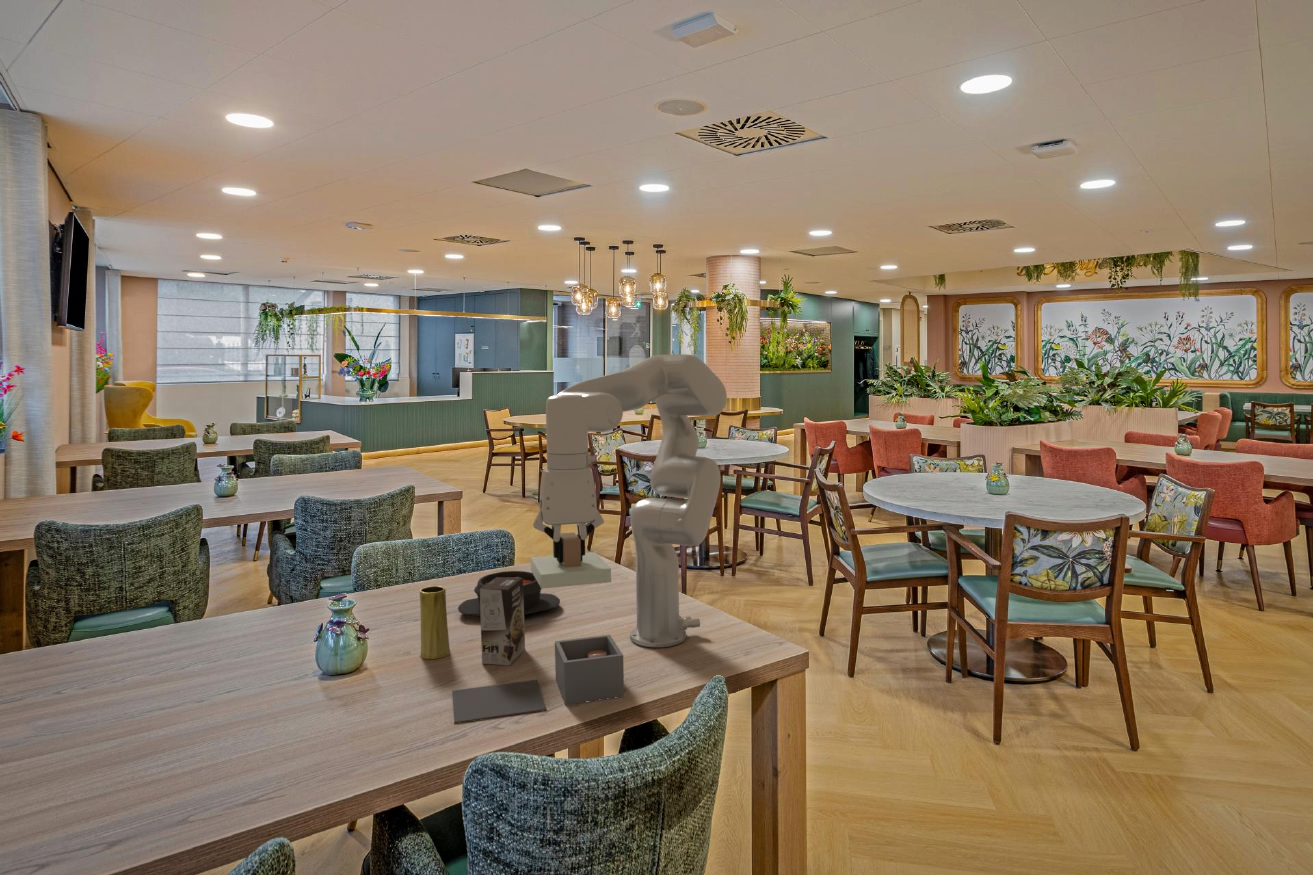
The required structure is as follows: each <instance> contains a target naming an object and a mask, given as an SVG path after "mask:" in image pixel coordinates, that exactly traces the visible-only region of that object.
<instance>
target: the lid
mask: <svg viewBox="0 0 1313 875" xmlns="http://www.w3.org/2000/svg"><path fill="white" fill-rule="evenodd" d="M560 537H561V541H562V542H563V562H562V563H559V562H558V561H557V558H554V555H548V556H547V555H546V556H545V555H544V556H534V557H533V556H532V557H530V572H531V573H533V575H534V577H535V578H536V580H537V582H538V584H539V585H540V587H541V590H542V589H551V588H553V589H554V588H563V587H573V586H583V585H595V584H606V583H607V584H608V583H611V582H612V568H611V567H610V565H608V564H607V562H605V560H603V559H602V558H601V556H599V555H598V553H597V552H595V551H594V552H585V555H584V556H582V558H583V560H582V561H581V539H580V538H579V537H578V536H577V534H576V533H575V532H565V533H564V532H562V533H561V532H560Z"/></svg>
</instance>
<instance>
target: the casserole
mask: <svg viewBox="0 0 1313 875" xmlns="http://www.w3.org/2000/svg"><path fill="white" fill-rule="evenodd" d="M496 577H504V578H505V577H517V578H523V598H524V617H525V616H527V615H528V616H529V615H530V614H534V613H537V612H544V611H548V610H552V609H555V608H556V607H558V606H559V605H560V603H561V599H560V598H559V597H558V596H556V595H554V594H552V593H545V592H544V593H541V592H542V591H541V590H542V589H541V587H540V585H539V584H538V582H537V580H536V578H535V577H534V575H533V573H532V571H524V570H523V571H521V570H508V571H499V572H494V573H490V574H487V575H484V576H482V577H480V578H479V579H478V581H477V584H476V586H474V589H473V591H474V593H475V594H476V595H477V597H476V598H475V597H474V598H469V599H467V600H464V601H463V602H461V603H460V604H459V605H458V607H457V611H458V612H459V613H461V614H462V615H465V616H474V617H475V616H478V617H481V615H480V588H481V587H483V586H484V585H486V584H487V583H489V582H490V581H492V580H493V579H494V578H496Z"/></svg>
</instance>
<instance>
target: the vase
mask: <svg viewBox="0 0 1313 875" xmlns="http://www.w3.org/2000/svg"><path fill="white" fill-rule="evenodd" d="M446 590H447V589H446V588H445V587H444V586H443V585H430V586H425V587H422V588H420V589H419V600H420V603H419V604H420V657H421V658H422V659H425V660H437V659H441V658H445V657H447V656H449V655H450V653H451V649H450V637H449V630H448V628H449V627H448V614H447V596H446V595H447V594H446V592H447V591H446Z"/></svg>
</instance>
